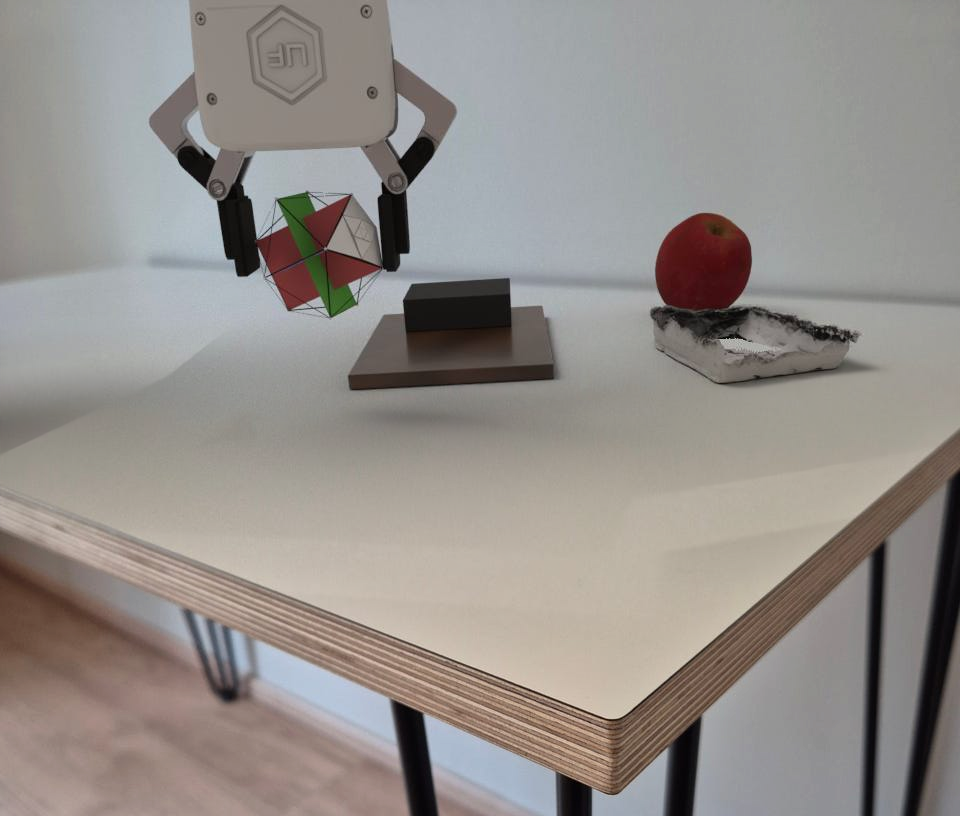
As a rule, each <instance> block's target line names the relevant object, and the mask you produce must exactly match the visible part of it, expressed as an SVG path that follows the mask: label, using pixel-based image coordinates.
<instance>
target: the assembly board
mask: <svg viewBox="0 0 960 816" xmlns="http://www.w3.org/2000/svg"><path fill="white" fill-rule="evenodd" d="M511 324H512V325H511V326H506V327H489V328H471V329H453V330H436V331H418V332H406V330H405V319H404V312H403V313H389V314H387V313H386V314H383V315H382V317H381V318H380V319H379V322H378V324H377V325H376V327H375V328H374V329H373V332H372V334H371V335H370V337H369V338H368V340H367V342H366V344H365V345H364V347H363V349H362V351H361V352H360V354H359V356H358V358H357V359H356V361H355V362H354V364H353V366H352V368H351V370H350V371H349V373H348V374H347V380H348V381H347V382H348V388H349V390H369V389H385V388H386V389H387V388H405V387H421V386H422V387H423V386H424V387H425V386H440V385H444V386H445V385H459V384H462V385H463V384H476V383H477V384H479V383H480V384H481V383H497V382H517V381H534V380H553V379H554V378H555V374H554V373H555V372H554V371H555V369H554V360H553V354H552V350H551V344H550V340H549V334H548V333H549V332H548V328H547V323H546V317H545V311H544V307H543V305H529V306H528V305H527V306H524V305H523V306H511Z"/></svg>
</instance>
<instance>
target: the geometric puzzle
mask: <svg viewBox="0 0 960 816" xmlns="http://www.w3.org/2000/svg"><path fill="white" fill-rule="evenodd" d="M313 194H322V192H320V191H309V190H305V191H304V192H300V193H296V194H292V195H287V196H283V197H279V198H278V197H277V196H275V198H274V203H273V204H272V205H271V208H273V207H274V208H273V209H274V210H273V215H272V222H271V226H270V227H269V228H268V229H266V230H265V232H263V234H261V232H262V230H263V229H264V226H265V224H266V221H267V220H268V218H269V216H270V214H271V212H269V213H268V215H267V217H266V219H265V221H264V223H263V225H262V227H261V230H260V231H259V233H258V235H260V234H261V235H260V236H259V237H257V240H255V243H256V245H257V246H258V248H257V250H259V252H258V254H259V258H260V259H261V256H262V259H263V261H264V263H265V267H264V270H263V266H262V261H261V260H260V268H261V271H262V272H264V273H262V276H263V277H262V280H265V281H266V283H267V285H269V286H270V289H271V290H272V291H273V292H274V294H275V295H276V296H277V298H278V299H279V300H280V302H281V303H282V304H283V306H284V307H285V308H286V311H287V312H291V313H295V312H296V313H297V314H298V313H299V314H301V312H300V311H304V310H315V311H317V312H318V313H320V314H322V315H323V316H324V318H325V319H328V321H329V320H332V319H333V318H335V317H336V316H338V315H340V314H342V313H344V312H346V311H348V310H350V309H352V308H353V307H355V306H356V307H358V306H359V303H360V302H361V299H362V298H363V297H364V296H365V294H366V293H367V291H368V290H369V289H370V287H371V286H372V284H373V283H374V282H375V280H376V279H377V278H378V276H379V274H381V272H382V271H383V265H382V252H381V244H380V240H379V239H380V238H379V233H378V228H377V226H376V224H375V223H374V222H373V220H372V219H371V218H370V217H369V215H368V214H367V212H366V211H365V209H363V207H362V206H361V204H360V203H359V202H358V201H357V199H356V198H355V197H354V193H353V192H350V193H341V192H329V194H328V195H326V197H335V196H338V195H341V196H344V197H343V198H341V199H338V200H336V201H335V202H333V203H330V204H327V203H325V202H324V201H323V200H321V199H320V198H321V197H322V198H323V195H313ZM318 197H319V198H318ZM311 198H315V199H316V200H317V201H319V202H321V203H322V204H324V205H325V206H324V207H322V208H320V209H318V210H316V208H315V206H314V204H313V202H312V199H311ZM277 204H278V206H279V209H280V212H281V214H282V215H281V216H280V217H279V218H278V219H277V220H276V221H275V222H274V219H275V213H276V206H277ZM283 217H284V220H285V222H286V224H287V225H286V226H284V227H282V228H279V229H278V230H275V231H274V232H273V228H274V226H275V225H276V224H277V223H278V222H279V221H280V220H281V219H282V218H283ZM269 231H270V234H268V235H266V234H267V233H268V232H269ZM265 235H266V236H265ZM260 254H261V256H260ZM267 269H268V271H269V274H267V275H266V272H267ZM375 272H376V273H375ZM374 273H375V275H373V276H372V277H371V278H370V279H369V280H368V281H367V282H365V284H364V285H362V280H363V278H364V277H367V276H369V275H372V274H374ZM269 277H272V280H273V282H272V281H271V280H269V279H268V278H269ZM358 280H360V282H359V286H358V291H356V293H354V295H353V292H352V289H351V288H350V284H351V283H354V282H356V281H358ZM372 280H373V281H372ZM371 281H372V282H371ZM370 282H371V284H370V285H369V286H368V288H367V289H366V291H365V292H364V294H363V295H362V296H361V298H360V299H359V297H360V293H361V290H363V289H364V287H366V285H367V284H369V283H370ZM270 283H271V284H272V285H274V286H276V288H277V291H278V292H279V294H280V297H281V298H280V297H279V296H278V294H277V292H276V291H275V290H274V288H273V287H272V286H271V285H270ZM361 286H362V287H361ZM356 295H357V299H355V296H356ZM318 298H320V299H321V301H322V303H323V305H324V306H317V307H313V306H312V305H310V304H309V302H311V301H314V300H316V299H318ZM281 299H282V300H281ZM303 305H307V306H308V307H306V308H305V307H304V308H299V307H300V306H303ZM318 309H325V310H326V312H327V314H328V315H327V314H325V313H324V312H322V311H320V310H318ZM298 311H299V312H298ZM287 312H286V313H287ZM302 314H303V315H306V313H305V312H302ZM307 315H309V316H312V313H307ZM313 316H314V317H317V314H316V315H315V314H313ZM323 316H321V315H318V317H319V318H323Z"/></svg>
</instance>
